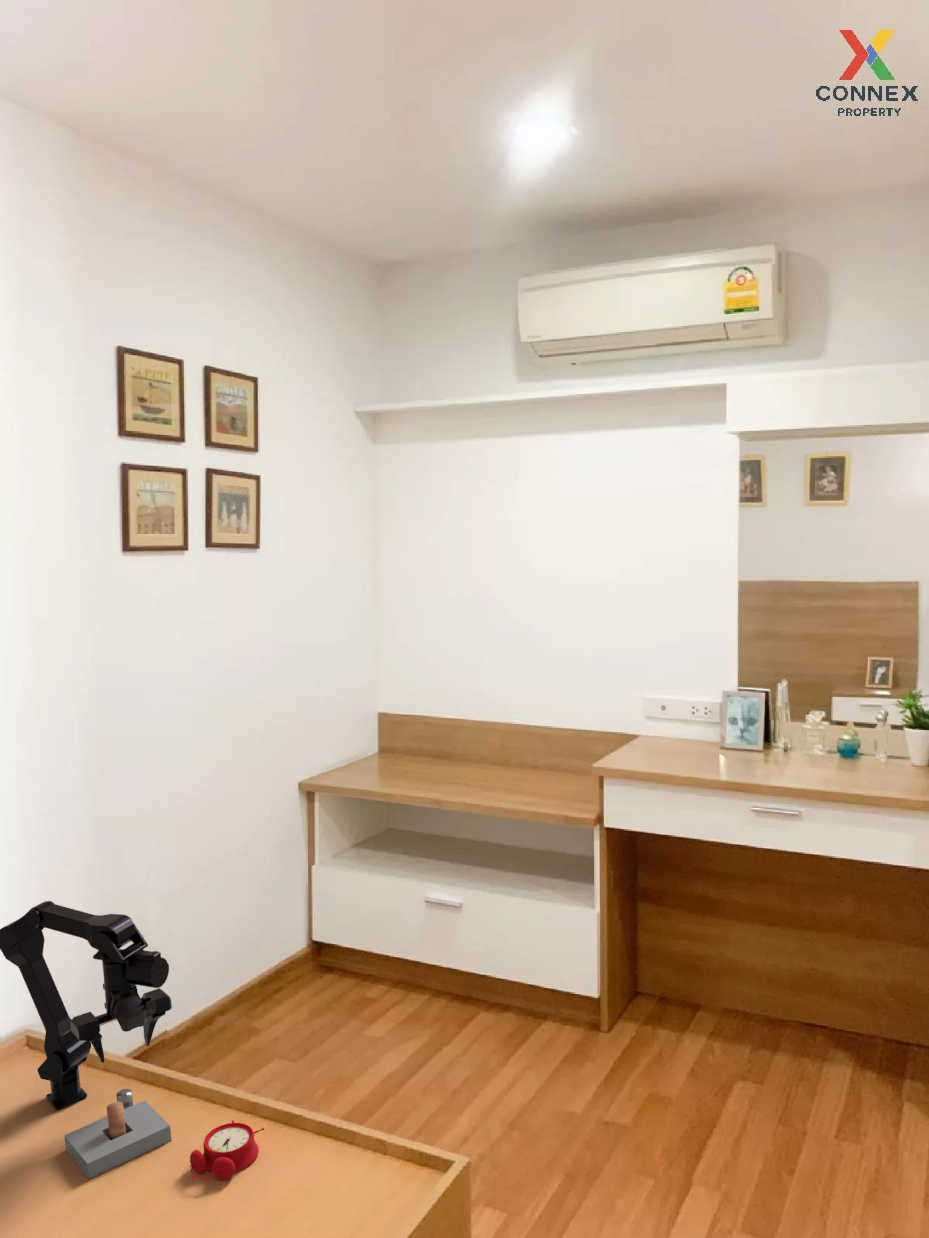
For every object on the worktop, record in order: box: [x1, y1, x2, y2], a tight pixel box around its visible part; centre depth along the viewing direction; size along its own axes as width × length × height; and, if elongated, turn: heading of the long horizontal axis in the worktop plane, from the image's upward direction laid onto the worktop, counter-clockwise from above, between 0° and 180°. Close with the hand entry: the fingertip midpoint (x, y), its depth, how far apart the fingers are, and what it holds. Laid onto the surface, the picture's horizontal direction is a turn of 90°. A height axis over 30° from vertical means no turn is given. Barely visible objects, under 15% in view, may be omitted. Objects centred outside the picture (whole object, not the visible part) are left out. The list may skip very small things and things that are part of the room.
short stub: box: [115, 1088, 134, 1109], centre depth 205 cm, size 3×3×4 cm
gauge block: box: [63, 1100, 172, 1180], centre depth 194 cm, size 12×16×3 cm
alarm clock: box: [189, 1120, 265, 1181], centre depth 187 cm, size 10×6×15 cm
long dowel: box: [106, 1101, 126, 1140], centre depth 193 cm, size 3×3×8 cm
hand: (125, 1053), depth 204 cm, fingers open, 9 cm apart
